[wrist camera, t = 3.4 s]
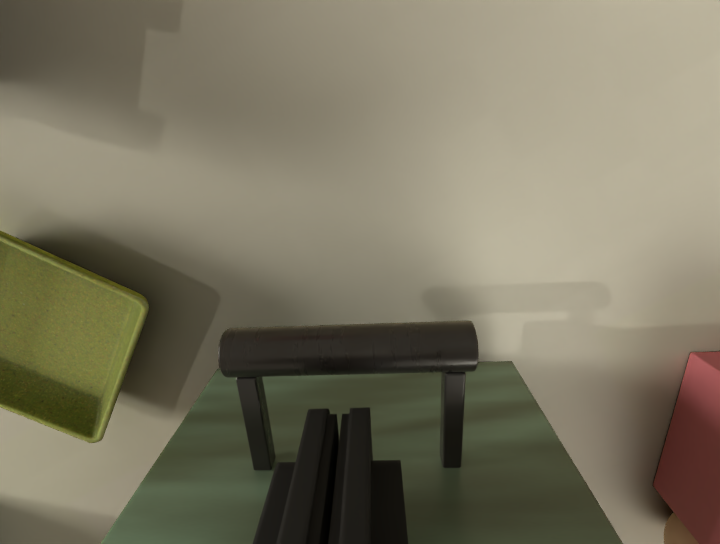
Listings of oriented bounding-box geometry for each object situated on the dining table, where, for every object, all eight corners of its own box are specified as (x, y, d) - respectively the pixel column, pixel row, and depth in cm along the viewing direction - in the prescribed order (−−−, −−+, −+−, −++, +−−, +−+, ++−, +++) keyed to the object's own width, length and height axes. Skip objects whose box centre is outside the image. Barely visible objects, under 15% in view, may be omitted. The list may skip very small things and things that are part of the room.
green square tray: (175, 285, 17) (150, 304, 15) (125, 417, 20) (98, 448, 18) (-16, 195, 16) (-70, 203, 14) (-42, 348, 19) (-90, 373, 17)
